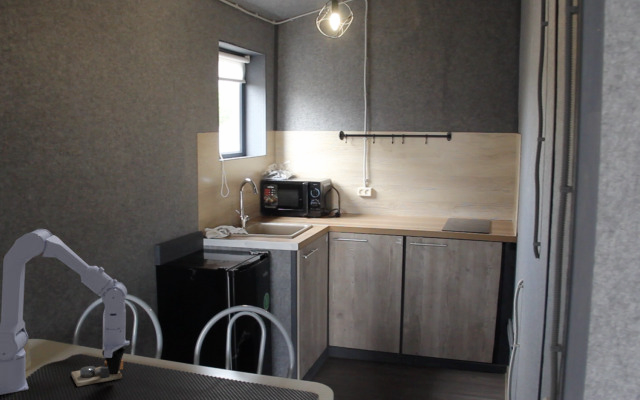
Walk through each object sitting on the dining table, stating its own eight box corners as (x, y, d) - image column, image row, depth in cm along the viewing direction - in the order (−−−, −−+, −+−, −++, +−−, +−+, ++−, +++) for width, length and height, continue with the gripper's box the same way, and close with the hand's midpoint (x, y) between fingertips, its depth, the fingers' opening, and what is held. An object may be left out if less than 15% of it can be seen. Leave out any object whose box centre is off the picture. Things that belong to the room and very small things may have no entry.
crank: (79, 378, 151) (80, 366, 151) (80, 373, 155) (80, 361, 155) (123, 373, 156) (123, 362, 155) (122, 368, 159) (122, 357, 159)
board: (77, 386, 149) (77, 382, 149) (71, 375, 156) (71, 371, 156) (121, 378, 155) (121, 374, 155) (114, 367, 163) (114, 364, 163)
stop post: (101, 378, 152) (101, 369, 152) (99, 375, 154) (99, 367, 154) (110, 377, 153) (110, 368, 153) (108, 374, 155) (108, 365, 155)
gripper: (123, 334, 144) (122, 383, 145) (134, 319, 159) (134, 363, 160) (96, 334, 143) (95, 384, 144) (110, 319, 158) (109, 364, 159)
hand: (114, 373), depth 152 cm, fingers closed
